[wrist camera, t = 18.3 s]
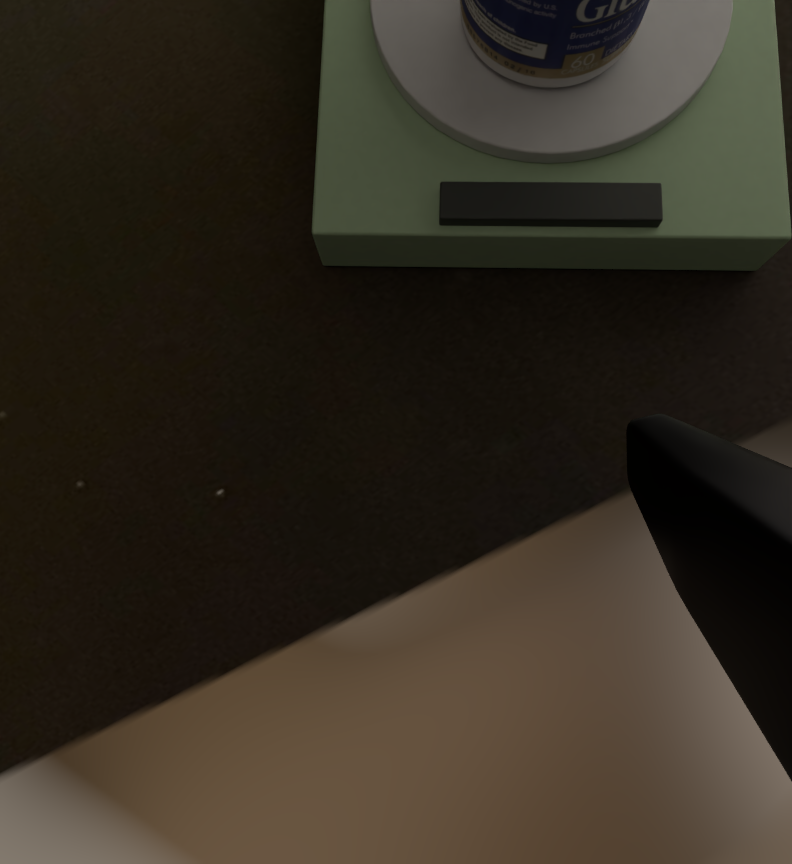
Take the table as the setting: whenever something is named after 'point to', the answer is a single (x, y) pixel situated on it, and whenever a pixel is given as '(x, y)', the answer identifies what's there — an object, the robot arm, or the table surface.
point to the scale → (550, 146)
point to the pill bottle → (551, 37)
